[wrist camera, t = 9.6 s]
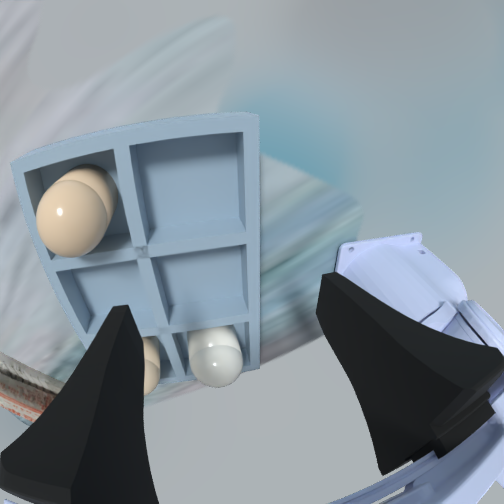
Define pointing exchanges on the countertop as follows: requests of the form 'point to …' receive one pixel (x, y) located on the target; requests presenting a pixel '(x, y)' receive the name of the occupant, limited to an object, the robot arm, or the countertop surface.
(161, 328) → the egg carton
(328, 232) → the countertop surface
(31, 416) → the packaged product
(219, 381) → the seated egg
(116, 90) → the countertop surface
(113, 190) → the loose egg
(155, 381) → the seated egg
